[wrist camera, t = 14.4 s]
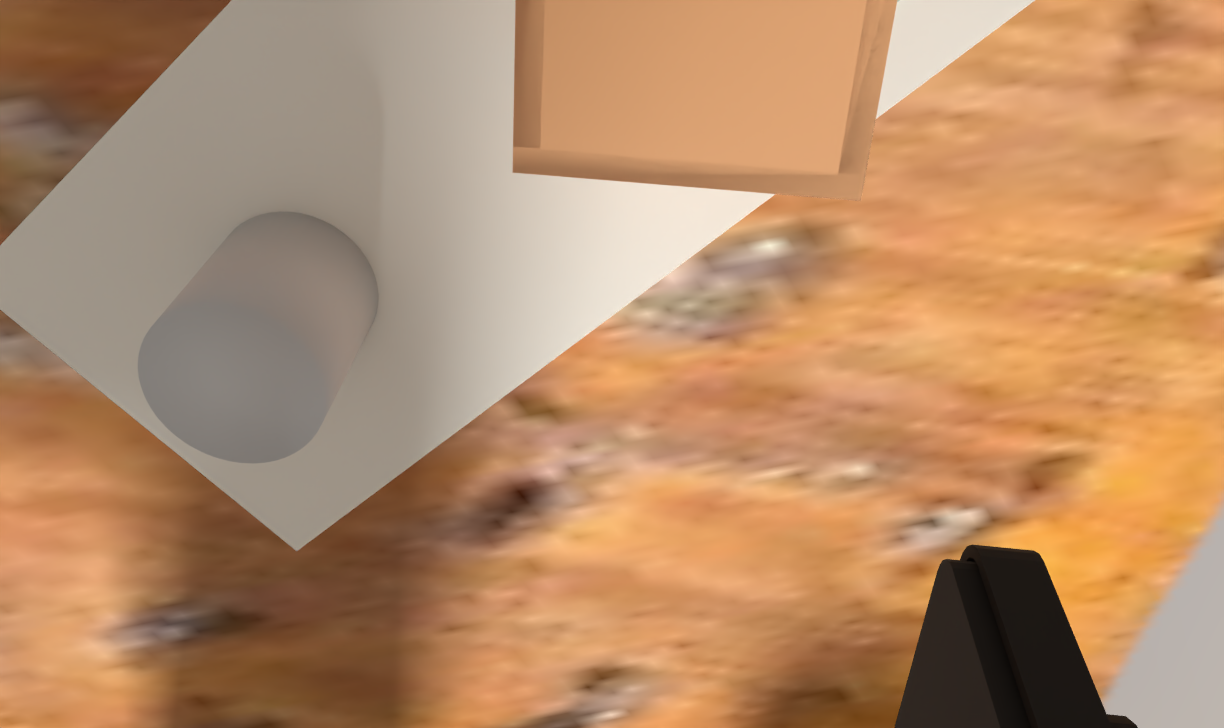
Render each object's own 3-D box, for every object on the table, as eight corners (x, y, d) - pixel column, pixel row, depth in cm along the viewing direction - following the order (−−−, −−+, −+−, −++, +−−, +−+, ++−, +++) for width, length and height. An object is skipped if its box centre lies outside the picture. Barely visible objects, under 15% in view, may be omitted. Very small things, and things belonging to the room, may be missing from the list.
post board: (1109, -84, 27) (1217, -19, 21) (310, 520, 37) (241, 670, 32) (790, -581, 23) (818, -665, 17) (-6, 257, 33) (-149, 376, 28)
